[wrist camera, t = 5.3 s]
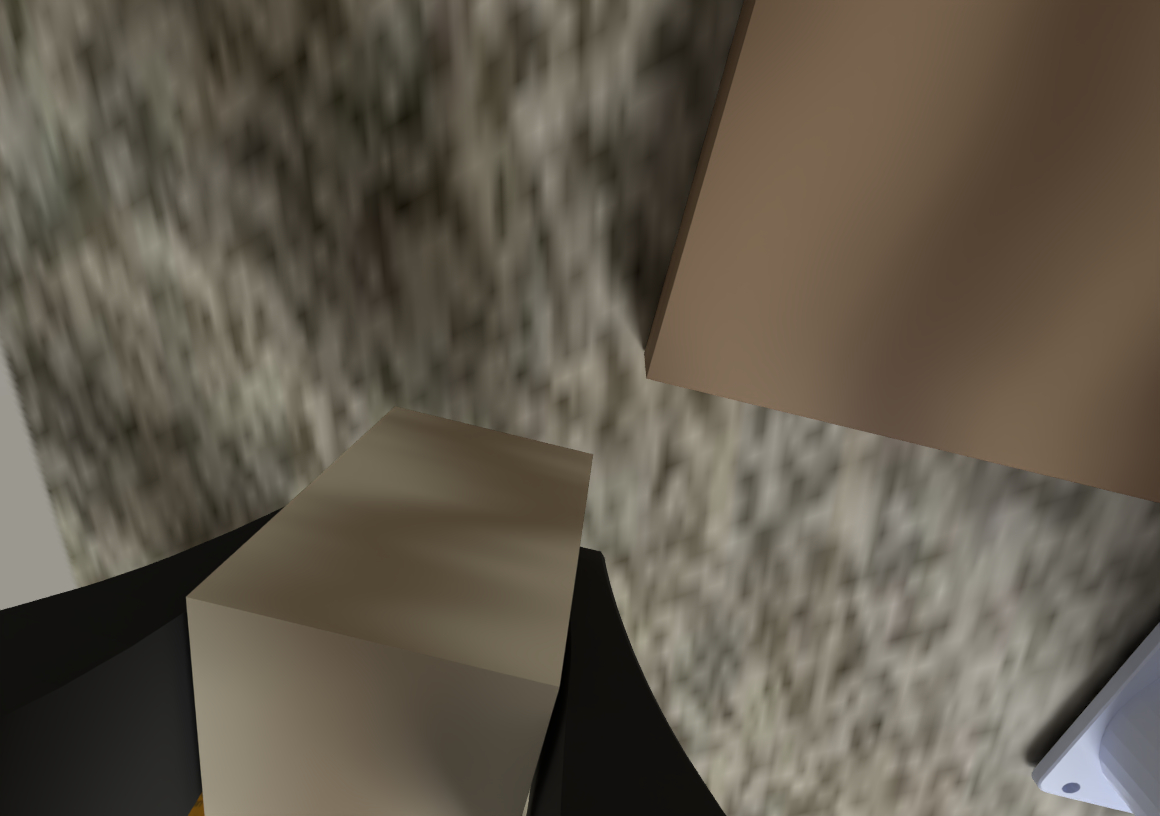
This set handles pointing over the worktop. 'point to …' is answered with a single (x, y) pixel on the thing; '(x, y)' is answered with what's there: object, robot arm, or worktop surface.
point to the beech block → (393, 630)
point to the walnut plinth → (934, 230)
